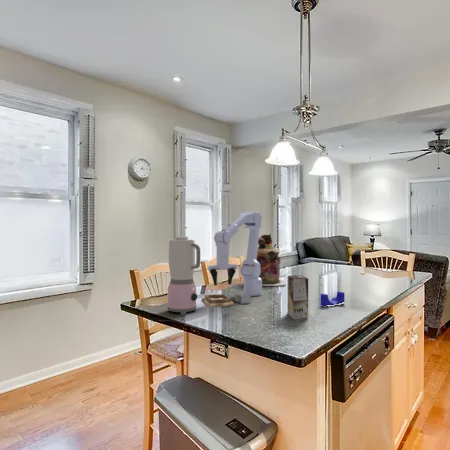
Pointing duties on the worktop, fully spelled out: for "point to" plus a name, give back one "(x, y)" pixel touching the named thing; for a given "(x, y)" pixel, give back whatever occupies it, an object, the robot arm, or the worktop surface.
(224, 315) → the worktop surface
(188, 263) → the blender
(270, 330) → the worktop surface
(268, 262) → the cookie jar
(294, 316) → the coffee box
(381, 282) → the worktop surface
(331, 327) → the worktop surface
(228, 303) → the tray
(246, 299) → the block
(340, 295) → the cable clip
